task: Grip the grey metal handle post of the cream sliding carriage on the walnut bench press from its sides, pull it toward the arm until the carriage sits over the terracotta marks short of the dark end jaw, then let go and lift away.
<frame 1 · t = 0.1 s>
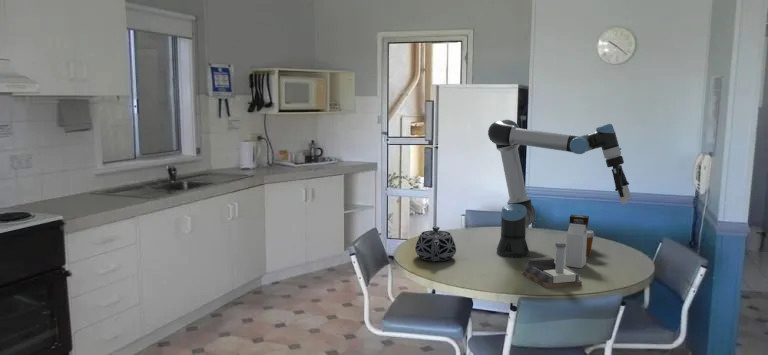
hand: (626, 201, 288), 28 cm above the table, tool tilted 20°, fingers open, 13 cm apart
disposable coffee cup: (582, 256, 300), on the table
press carriage: (559, 261, 255), point 9 cm above the table, slide at 0.0 cm
black lattice pot: (435, 258, 295), on the table
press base: (551, 279, 262), on the table
coffee box: (577, 247, 316), on the table
milk carton: (575, 265, 283), on the table
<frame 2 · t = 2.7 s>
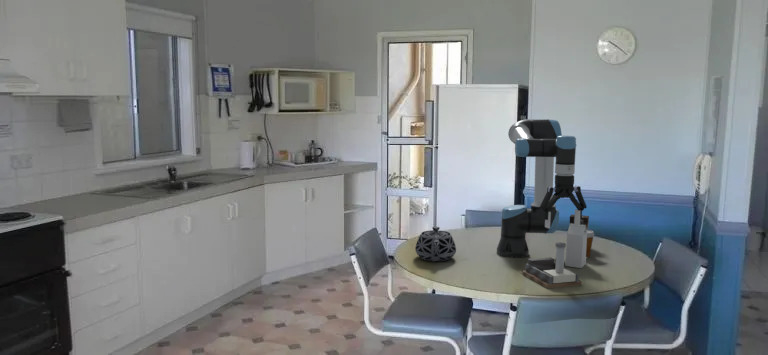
hand: (562, 226, 253), 24 cm above the table, tool pointing down, fingers open, 13 cm apart
nothing on the table moved.
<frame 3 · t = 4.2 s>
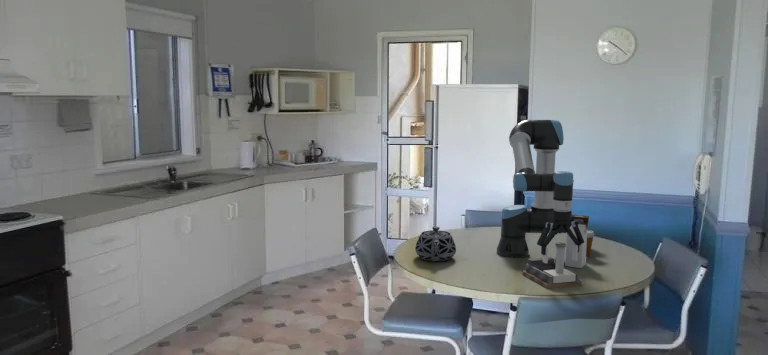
hand: (559, 261, 255), 9 cm above the table, tool pointing down, fingers open, 13 cm apart
nothing on the table moved.
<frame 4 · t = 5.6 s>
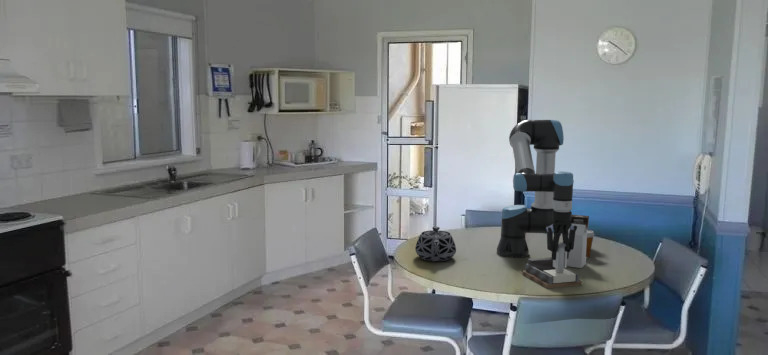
hand: (559, 266, 255), 7 cm above the table, tool pointing down, fingers closed on press carriage, 3 cm apart
press carriage: (559, 261, 255), point 9 cm above the table, slide at 0.0 cm, touching gripper
everything else where it was.
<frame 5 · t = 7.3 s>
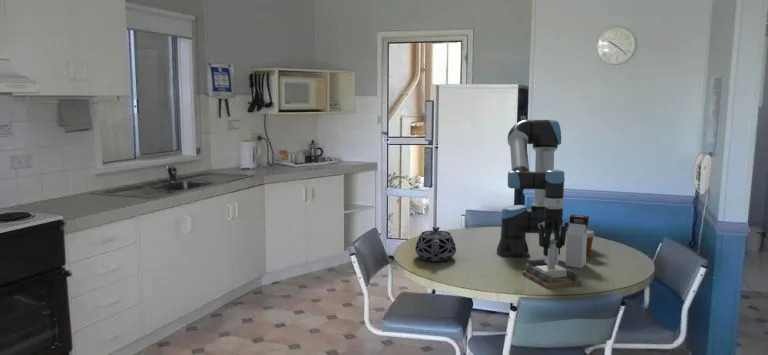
hand: (551, 262, 261), 7 cm above the table, tool pointing down, fingers closed on press carriage, 3 cm apart
press carriage: (551, 257, 261), point 9 cm above the table, slide at 6.4 cm, touching gripper
everything else where it was.
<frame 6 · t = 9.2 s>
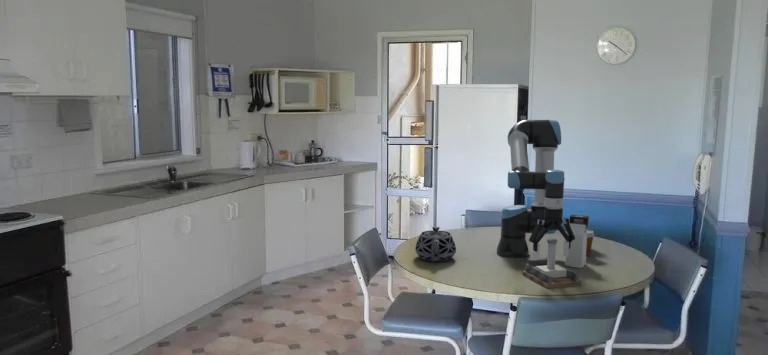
hand: (551, 257, 261), 9 cm above the table, tool pointing down, fingers open, 13 cm apart
press carriage: (551, 257, 261), point 9 cm above the table, slide at 6.5 cm
everything else where it was.
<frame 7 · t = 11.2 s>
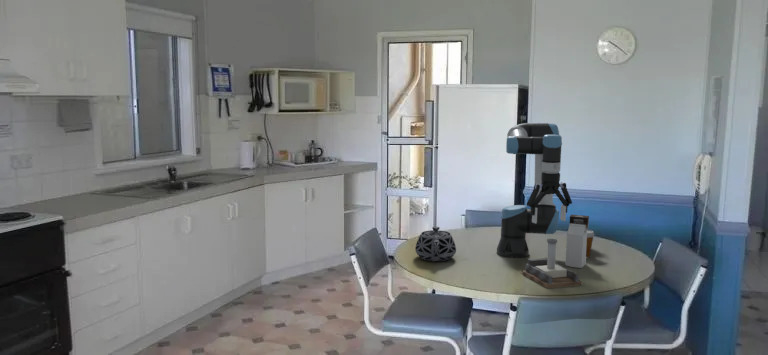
hand: (548, 221, 264), 23 cm above the table, tool pointing down, fingers open, 13 cm apart
nothing on the table moved.
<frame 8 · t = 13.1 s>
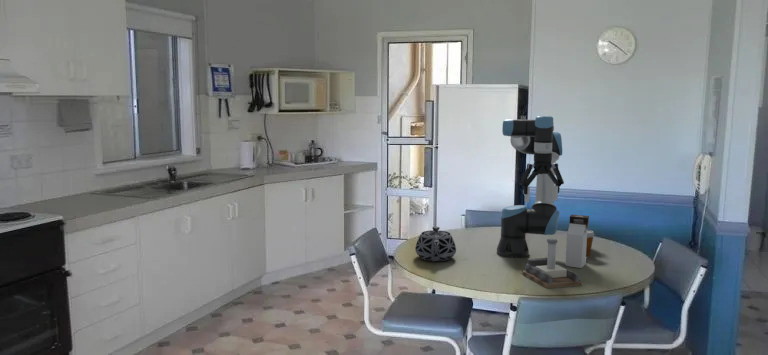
hand: (541, 201, 271), 31 cm above the table, tool pointing down, fingers open, 13 cm apart
nothing on the table moved.
at the end: press carriage slide at 6.5 cm; the gripper is holding nothing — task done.
